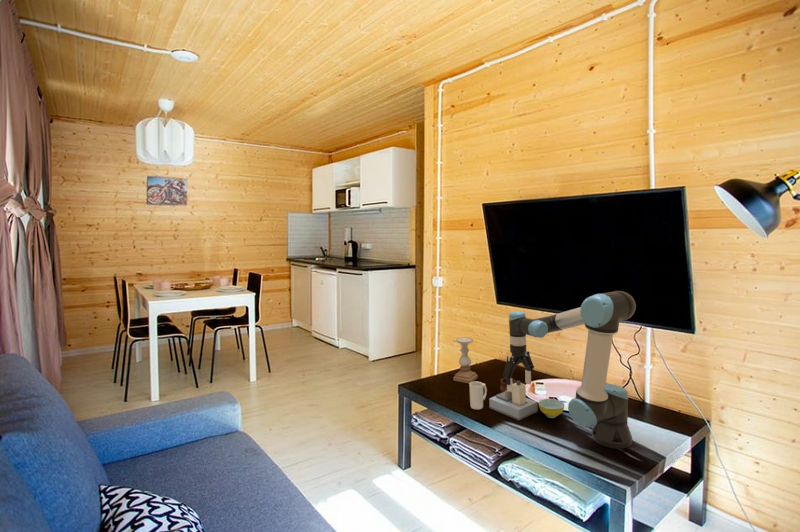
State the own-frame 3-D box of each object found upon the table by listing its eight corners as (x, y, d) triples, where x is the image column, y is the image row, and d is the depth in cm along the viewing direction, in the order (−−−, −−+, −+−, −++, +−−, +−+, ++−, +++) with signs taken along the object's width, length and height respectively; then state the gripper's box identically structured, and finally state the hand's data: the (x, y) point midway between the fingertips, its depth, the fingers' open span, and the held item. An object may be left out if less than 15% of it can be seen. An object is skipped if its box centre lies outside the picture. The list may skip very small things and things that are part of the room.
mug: (475, 411, 215) (475, 387, 214) (467, 406, 221) (466, 383, 220) (491, 405, 220) (490, 382, 219) (482, 401, 226) (482, 378, 225)
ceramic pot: (524, 386, 243) (523, 374, 242) (526, 400, 226) (526, 387, 225) (491, 386, 247) (490, 374, 246) (491, 399, 230) (490, 386, 229)
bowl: (558, 424, 199) (558, 411, 198) (534, 417, 206) (534, 404, 206) (568, 415, 207) (568, 402, 206) (544, 408, 215) (544, 396, 214)
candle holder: (452, 380, 257) (451, 340, 254) (461, 374, 266) (460, 336, 263) (469, 383, 250) (468, 343, 248) (478, 377, 259) (477, 338, 257)
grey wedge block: (517, 397, 217) (517, 387, 216) (507, 401, 212) (507, 392, 212) (505, 392, 223) (505, 383, 222) (495, 396, 218) (495, 387, 218)
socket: (537, 411, 212) (537, 401, 211) (518, 420, 203) (518, 410, 203) (508, 400, 226) (507, 390, 226) (489, 408, 218) (489, 398, 217)
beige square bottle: (518, 407, 215) (517, 379, 213) (525, 410, 211) (525, 381, 210) (512, 410, 212) (511, 381, 211) (519, 413, 209) (519, 383, 207)
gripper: (528, 337, 219) (529, 378, 220) (494, 347, 204) (495, 392, 206) (540, 340, 212) (541, 382, 214) (506, 351, 198) (508, 396, 200)
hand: (519, 387), depth 210 cm, fingers open, 13 cm apart
